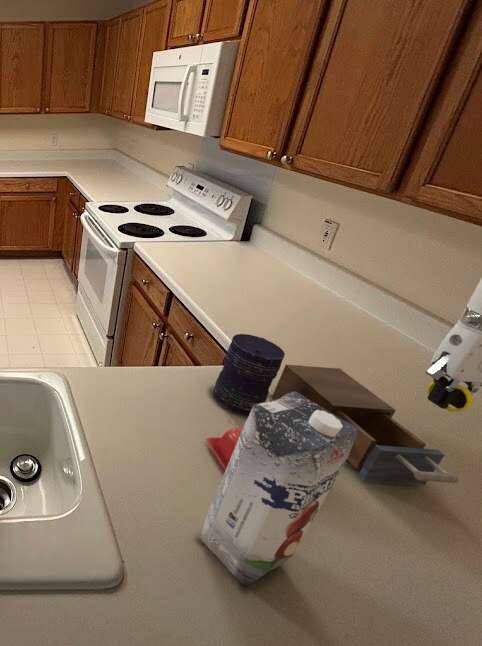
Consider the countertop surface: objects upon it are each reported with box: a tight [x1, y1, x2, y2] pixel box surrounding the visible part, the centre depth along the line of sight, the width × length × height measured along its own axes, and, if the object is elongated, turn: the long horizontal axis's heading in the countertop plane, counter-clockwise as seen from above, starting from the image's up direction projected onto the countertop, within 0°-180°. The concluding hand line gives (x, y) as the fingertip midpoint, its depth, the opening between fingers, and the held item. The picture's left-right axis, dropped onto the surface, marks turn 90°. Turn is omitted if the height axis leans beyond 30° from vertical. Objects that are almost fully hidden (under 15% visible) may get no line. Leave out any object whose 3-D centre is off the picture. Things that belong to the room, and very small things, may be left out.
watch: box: [426, 377, 474, 413], centre depth 81 cm, size 6×3×6 cm, turn 17°
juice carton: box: [200, 391, 359, 586], centre depth 56 cm, size 9×10×27 cm
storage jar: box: [212, 333, 286, 418], centre depth 90 cm, size 10×10×18 cm
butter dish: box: [205, 427, 243, 471], centre depth 74 cm, size 12×12×8 cm
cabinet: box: [271, 364, 397, 419], centre depth 88 cm, size 14×13×9 cm
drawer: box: [333, 409, 459, 486], centre depth 76 cm, size 17×11×7 cm, turn 179°
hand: (444, 403), depth 82 cm, fingers closed on watch, 2 cm apart
